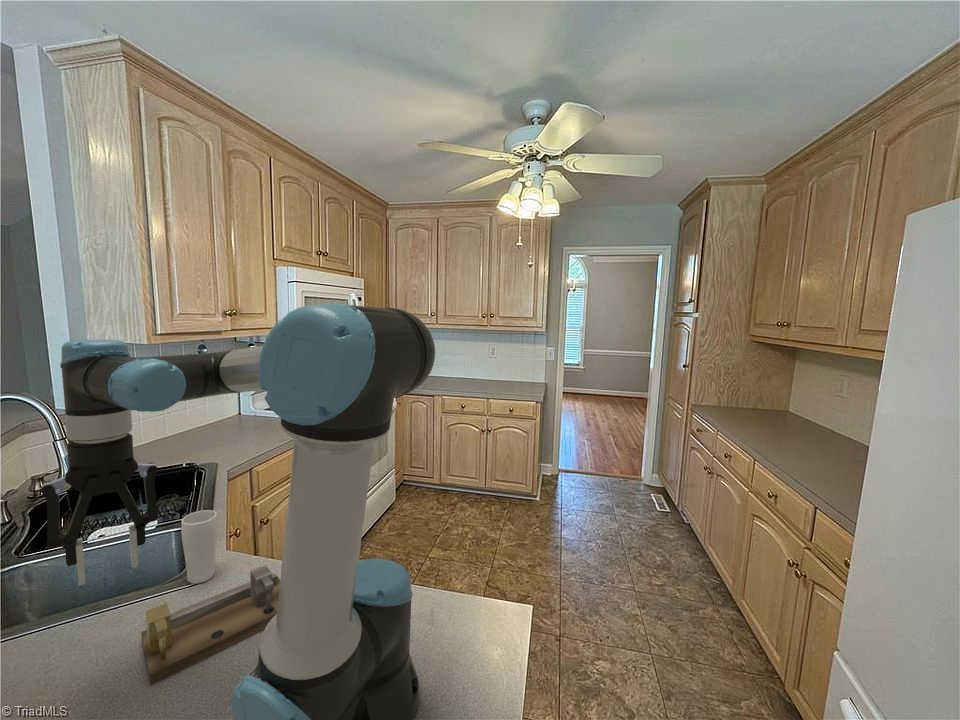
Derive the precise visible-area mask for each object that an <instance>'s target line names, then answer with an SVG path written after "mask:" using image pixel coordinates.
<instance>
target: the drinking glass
mask: <svg viewBox="0 0 960 720" xmlns="http://www.w3.org/2000/svg"><path fill="white" fill-rule="evenodd" d="M217 514H218V513H217V511H215V510H212V509H205V510H204V509H203V510H198V511H194V512H191V513H189V514H187V515H185V516H184V517H183V518H182V519H181V524H180V525H181V532H180V533H181V542H182V548H183V554H184V560H185V561H184V562H185V568H186V569H185V570H186V580H187V582H188V583H189V582H190V583H189V584H193V585H194V584H195V585H197V584H202V583H204V582H207V581H209V580H210V579H211V578H213V577H214V576H215V573H216V556H217V555H216V554H217V541H218V539H217V538H218V516H217Z"/></svg>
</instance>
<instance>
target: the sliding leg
mask: <svg viewBox="0 0 960 720" xmlns="http://www.w3.org/2000/svg"><path fill="white" fill-rule="evenodd" d="M170 614H171V613H170V609H169V606H168V603H167V602H166V603H163V604H160V605H157V606H155V607H152V608H150V609H148V610H145V623H146V624H145V625H146V630H147V643H148V647H149V652H150V655H152V654H154V653H156V652H158V651H160V660H163V659H165V658H166V657H167V653H166V648H167V647H169V646H172V640H171V617H170Z"/></svg>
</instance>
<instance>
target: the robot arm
mask: <svg viewBox="0 0 960 720" xmlns="http://www.w3.org/2000/svg"><path fill="white" fill-rule="evenodd" d="M435 358H436V346H435V342H434V338H433V336H432V333H431V332H430V330H429V328H428V327H427V326H426V324H425V322H423V320H421V319H420V318H419V317H417V316H416V315H414V314H413V313H411V312H410V311H406V310H404V309H401V308H393V307H375V306H367V305H366V306H363V305H362V306H361V305H353V304H346V303H335V302H330V303H325V304H309V305H304V306H300V307H297V308H294V309H293V310H291V311H290V312H287V314H286V315H285V316H284V317H283V318H281V319H279V320H278V321H277V322H276V323H275V324H274V326H273V327H272V328H271V329H270V331H269V333H268V334H267V336H266V337H265V340H264V342H263V343H262V345H258V346H252V347H246V348H240V349H232V350H231V349H230V350H224V351H218V352H217V351H215V352H206V353H205V352H203V353H196V354H195V353H193V354H192V353H191V354H177V355H176V354H175V355H174V354H173V355H172V354H171V355H160V356H146V357H143V356H140V357H135V356H131V355H130V353H129V348H128V345H127V343H126V342H125V341H123V340H118V339H78V340H77V339H76V340H75V339H74V340H70V341H66V342H65V343H63V345H62V347H61V362H60V364H59V365H60V369H61V376H62V387H63V389H62V390H63V399H64V401H63V402H64V413H65V414H64V418H65V420H64V421H65V430H66V438H67V440H69V442H68V443H67V446H66V448H67V459H68V460H67V461H68V470H67V471H66V473H65V475H64V476H63V477H59V478H57V479H54V480H46V481H44V482H43V483H42V484H41V490H40V491H41V494H42V495H43V497H44V499H45V501H46V534H47V535H46V546H47V548H48V549H54V548H60V547H61V548H64V551H65V564H66V566H67V567H71V566H74V565H76V566H77V582H78V586H82V585H85V584H86V575H85V574H86V573H85V572H86V571H85V560H84V559H85V558H84V557H85V556H84V545H83V544H84V543H83V537H80V538H79V535H80V532H81V530H82V527H83V523H84V521H85V518H86V515H87V512H88V509H89V506H90V504H91V501H92V500H93V499H92V498H94V497H97V496H98V497H99V496H100V495H102V494H106V493H107V494H108V493H109V494H110V493H111V494H112V493H115V492H116V493H117V494H118V497H120V500H121V501H122V504H123V505H124V507H125V510H126V511H127V513H128V515H129V517H130V519H131V520H132V522H133V524H131V525H128V534H129V535H128V536H129V552H130V564H131V568H132V569H135V568H139V557H138V555H139V554H138V547H139V546H143V545H145V543H146V539H147V538H146V527H147V526H148V524H149V523H152V522H156V521H157V520H158V519H159V512H158V502H157V493H156V486H155V483H156V482H155V478H156V476H157V475H156V474H157V472H158V467H157V465H156V463H155V462H152V461H151V462H148V463H138V462H137V460H136V459H135V458H134V446H133V445H134V444H133V443H134V442H133V441H134V440H133V435H132V434H131V433H130V432H132V431H133V423H132V422H133V420H132V411H136V412H142V413H143V412H151V413H155V412H163V411H165V410H168V409H170V408H171V407H173V406H174V405H175V404H178V403H179V402H185V401H191V400H196V399H201V398H208V397H214V396H220V395H227V394H228V395H229V394H231V395H232V394H238V393H239V394H240V393H247V392H248V393H249V392H257V391H258V392H259V391H266V395H265V397H264V401H265V402H266V404H267V405H268V407H269V408H270V410H272V412H273V413H274V414H275V415H277V417H279V418H280V427H281V429H282V430H283V431H284V432H285V433H286V434H287V435H289V437H290V438H291V439H292V440H294V441H293V451H292V452H293V453H292V461H291V470H290V481H289V491H288V492H289V493H288V502H287V509H286V510H287V512H286V513H287V514H286V522H285V531H284V532H285V533H284V542H283V552H282V561H281V571H280V590H279V600H278V610H277V614H276V615H275V616H274V617H273V618H272V619H271V621H270V622H269V623H268V625H267V626H266V628H265V629H264V631H263V632H262V634H261V637H260V641H259V652H258V660H257V665H256V667H255V668H254V669H253V671H252V672H251V673H249V674H246V675H244V677H242V678H241V681H240V682H239V683H238V685H236V687H235V688H234V690H233V692H232V695H231V699H230V707H231V708H230V709H231V714H232V715H231V716H232V719H233V720H414V718H415V716H416V714H417V711H418V707H419V702H420V701H419V700H420V698H419V697H420V685H419V684H420V682H419V677H418V674H417V672H416V668H415V665H414V663H413V659H412V656H411V654H410V649H411V648H410V647H411V646H410V644H411V641H410V640H411V622H412V621H411V618H412V615H411V614H412V598H413V592H412V578H411V576H410V574H409V572H408V570H407V569H406V568H405V567H404V566H403V565H401V564H400V563H398V562H395V561H393V560H389V559H385V558H367V559H362V560H360V554H361V553H360V552H361V547H362V546H361V545H362V537H363V531H364V523H365V517H366V508H367V500H368V493H369V485H370V477H371V471H372V463H373V454H374V449H375V443H377V442H378V441H380V440H381V439H383V438H384V437H385V436H387V435H388V433H389V431H390V428H391V420H392V415H393V408H394V401H395V400H394V399H396V398H399V397H401V396H405V395H408V394H410V393H411V392H413V391H415V390H416V389H417V388H419V387H420V386H422V384H423V383H424V382H425V381H427V378H428V377H429V376H430V373H431V372H432V370H433V368H434V367H433V366H434V365H435V364H434V363H435V360H436V359H435ZM136 472H138V473H139V476H140V478H142V479H143V485H144V493H145V494H144V495H145V504H146V513H144V514H142V513H141V511H140V509H139V507H138V505H137V503H136V501H135V499H134V497H133V495H132V494H131V491H130V490H129V488H128V485H127V483H128V482H129V480H130V479H132V476H134V474H135V473H136ZM66 485H69V486H70V487H72V488H74V489H75V490H76V491H78V492H79V496H78V499H77V502H76V505H75V508H74V511H73V513H72V517H71V520H70V522H69V525H68V529H67V531H66V534H60V495H61V494H63V493H64V491H65V486H66Z"/></svg>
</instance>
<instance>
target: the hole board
mask: <svg viewBox="0 0 960 720" xmlns="http://www.w3.org/2000/svg"><path fill="white" fill-rule="evenodd" d="M249 572H250V574H249V575H250V581H248V582H246V583H244V584H241V585H237V586H236V587H233V588H231V589H229V590H228V589H227V590H226V591H223V592H221V593H218V594H216V595H214V596H211V597H209V598H206V599H204V600H201V601H198V602H196V603H193V604H191V605H189V606H187V607H184V608H182V609H179V610H176V611H174V612H172V613H170V617H171V640H172V646H169V647H167V648H166V653H167V657H166V658H165V659H163V660H160V651H158V652H156V653H154V654H152V655H150V652H149V647H148V643H147V629H146V630H143V631H141V632H140V633H141V645H142V650H143V654H144V659H145V664H146V668H147V674H148V678H149V685H150V686H151V685H154V684H155V683H158V682H160V681H162V680H164V679H166V678H168V677H170V676H172V675H174V674H177V673H178V672H180V671H182V670H184V669H186V668H188V667H191V666H192V665H195V664H197V663H199V662H201V661H202V660H205V659H206V658H208V657H210V656H212V655H213V656H214V655H215V654H217V653H219V652H221V651H223V650H225V649H227V648H228V647H231V646H233V645H235V644H237V643H239V642H241V641H243V640H246V639H247V638H249V637H251V636H254V635H256V634H257V633H260V632H262V631H263V630H265V628H266V626H267V625H268V623H269V622H270V621H271V619H272V618H273V617H274V616H275V615H276V614H277V610H278V600H279V590H280V580H281V578H280V577H279V576H278V575H277V574H276V573H275V571H273V572H272V571H271V570H270V569H269V567H268V565H266V564H265V565H262V566H259V567H256V568H254V569H251V570H250V571H249Z"/></svg>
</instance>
